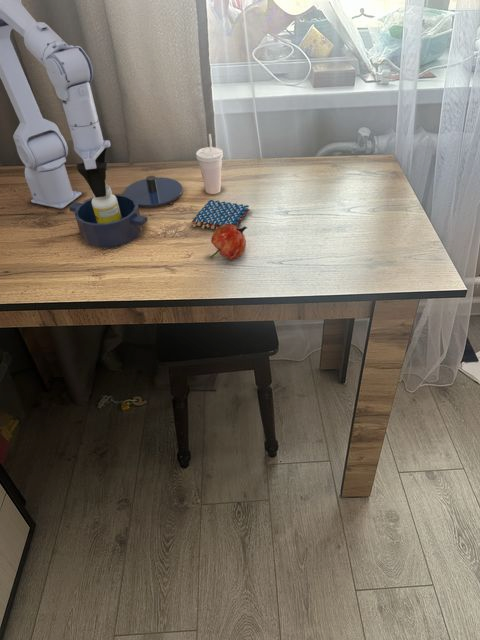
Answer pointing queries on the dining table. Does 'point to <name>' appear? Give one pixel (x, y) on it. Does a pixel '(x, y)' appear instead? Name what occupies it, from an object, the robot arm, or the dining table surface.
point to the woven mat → (220, 214)
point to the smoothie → (210, 167)
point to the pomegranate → (229, 241)
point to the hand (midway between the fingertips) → (100, 187)
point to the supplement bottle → (106, 207)
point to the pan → (111, 231)
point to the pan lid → (154, 191)
